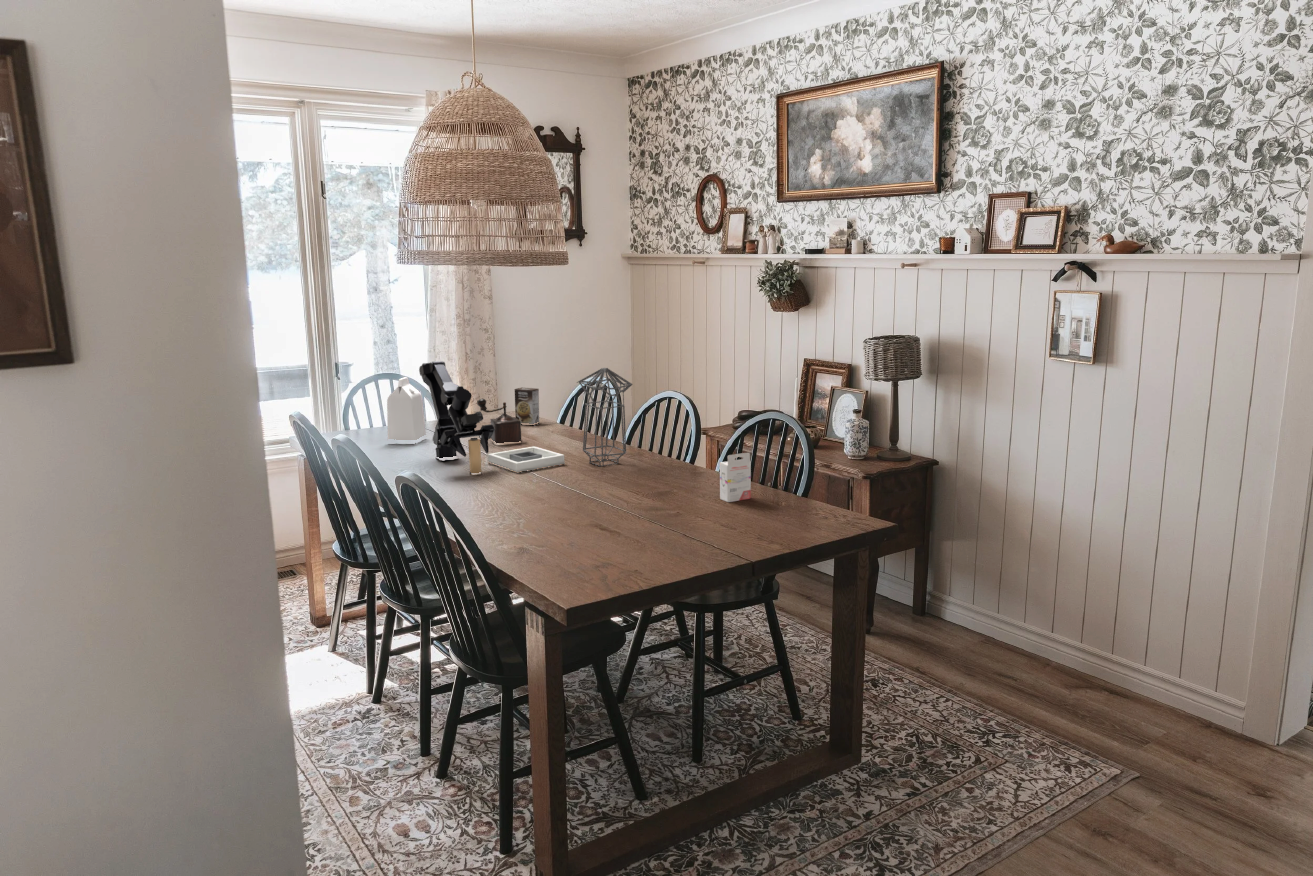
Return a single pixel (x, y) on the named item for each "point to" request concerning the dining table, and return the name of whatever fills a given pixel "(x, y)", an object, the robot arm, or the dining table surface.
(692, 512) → the dining table surface
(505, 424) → the manual coffee grinder
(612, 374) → the geometric lantern
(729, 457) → the ink cartridge box
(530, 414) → the coffee box
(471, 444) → the tan bottle
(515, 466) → the walled box
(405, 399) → the milk
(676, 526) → the dining table surface
